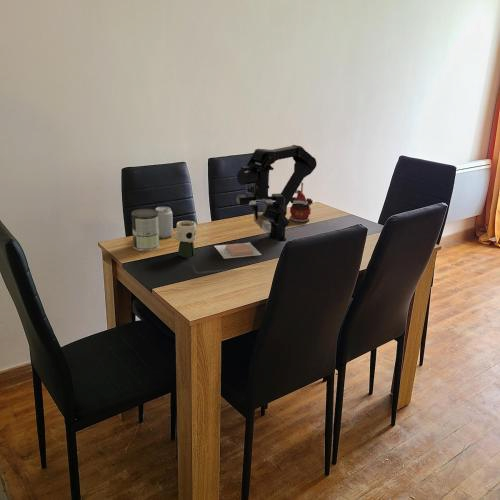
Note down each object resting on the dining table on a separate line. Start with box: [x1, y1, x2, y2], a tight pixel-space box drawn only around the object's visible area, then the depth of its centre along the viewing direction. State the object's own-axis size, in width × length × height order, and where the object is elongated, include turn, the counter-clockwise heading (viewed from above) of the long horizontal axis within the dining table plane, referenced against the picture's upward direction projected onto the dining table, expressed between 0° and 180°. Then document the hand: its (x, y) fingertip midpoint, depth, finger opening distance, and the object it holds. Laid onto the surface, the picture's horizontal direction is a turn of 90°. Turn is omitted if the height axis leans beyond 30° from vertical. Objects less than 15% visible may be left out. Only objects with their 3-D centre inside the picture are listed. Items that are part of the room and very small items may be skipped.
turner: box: [253, 211, 271, 234], centre depth 201 cm, size 2×16×4 cm, turn 15°
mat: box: [214, 242, 263, 260], centre depth 197 cm, size 15×14×1 cm
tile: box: [224, 242, 252, 257], centre depth 196 cm, size 8×2×9 cm
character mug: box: [175, 220, 197, 258], centre depth 190 cm, size 11×7×13 cm, turn 145°
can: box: [155, 206, 174, 239], centre depth 210 cm, size 8×8×12 cm
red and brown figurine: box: [289, 182, 313, 223], centre depth 237 cm, size 11×9×18 cm
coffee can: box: [130, 208, 160, 252], centre depth 198 cm, size 10×10×14 cm
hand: (259, 219), depth 204 cm, fingers closed on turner, 2 cm apart
